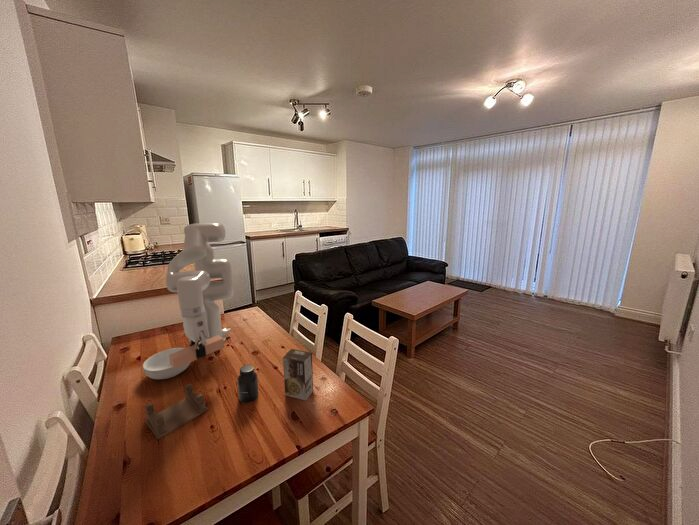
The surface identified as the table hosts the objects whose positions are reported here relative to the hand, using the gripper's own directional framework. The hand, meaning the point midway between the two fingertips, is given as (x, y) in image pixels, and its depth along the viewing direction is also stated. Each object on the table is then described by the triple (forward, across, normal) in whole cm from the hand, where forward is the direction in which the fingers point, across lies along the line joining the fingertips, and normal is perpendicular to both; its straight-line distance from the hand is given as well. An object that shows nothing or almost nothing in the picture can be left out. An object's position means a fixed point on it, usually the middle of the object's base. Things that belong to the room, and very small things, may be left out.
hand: (198, 354), depth 103 cm
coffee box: (+14, -33, -21) cm, 41 cm away
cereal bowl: (+15, +19, +4) cm, 25 cm away
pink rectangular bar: (0, 0, 0) cm, 0 cm away
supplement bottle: (+14, -20, -8) cm, 25 cm away
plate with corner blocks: (+14, -9, +12) cm, 20 cm away
